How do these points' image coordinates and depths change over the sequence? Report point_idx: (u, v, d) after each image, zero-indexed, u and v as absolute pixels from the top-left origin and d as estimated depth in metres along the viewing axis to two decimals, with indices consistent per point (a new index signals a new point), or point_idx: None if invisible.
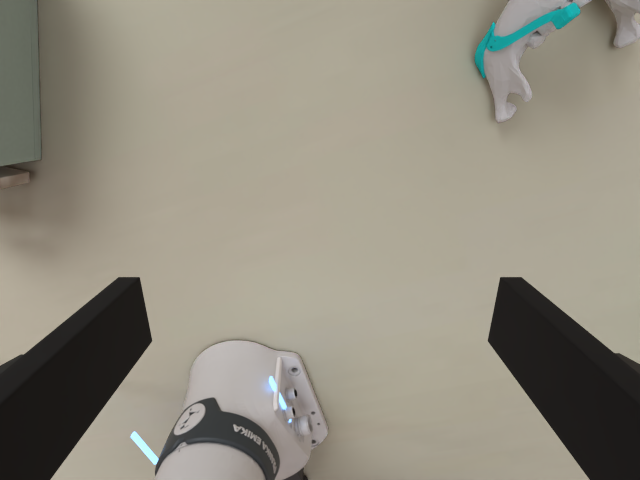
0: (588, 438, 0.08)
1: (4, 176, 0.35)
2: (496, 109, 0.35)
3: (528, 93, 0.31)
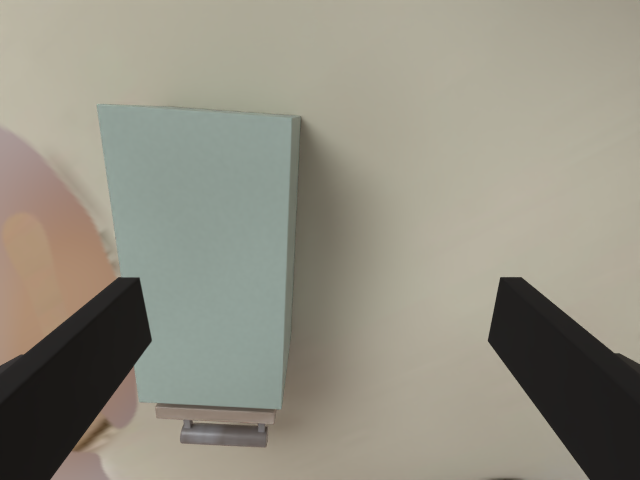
0: (588, 438, 0.08)
1: None
2: None
3: None
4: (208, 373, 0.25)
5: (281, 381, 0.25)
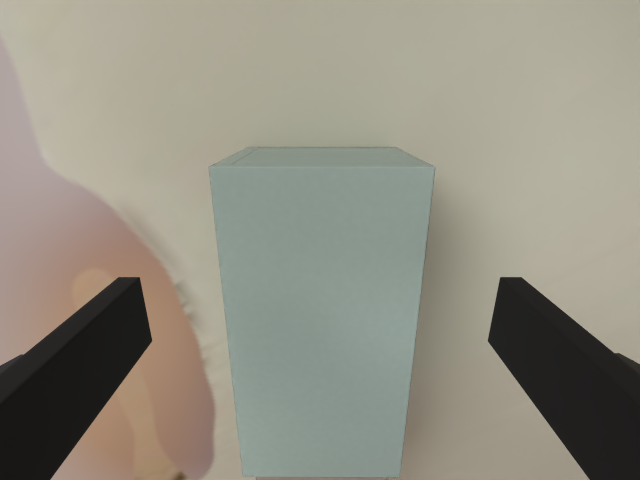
0: (588, 438, 0.08)
1: None
2: None
3: None
4: (320, 444, 0.22)
5: (402, 449, 0.22)
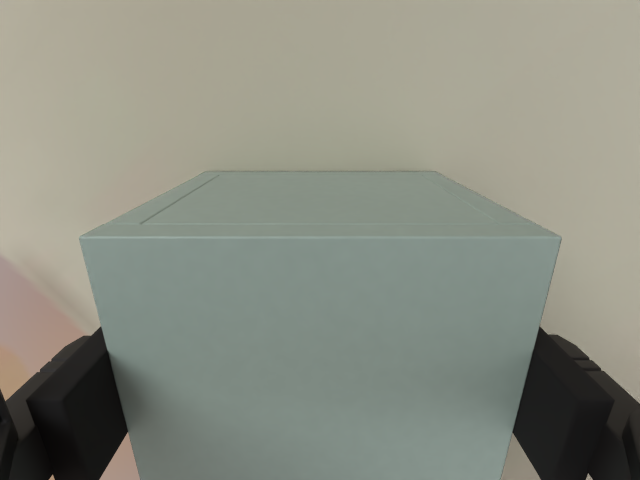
0: (520, 409, 0.09)
1: None
2: None
3: None
4: None
5: None
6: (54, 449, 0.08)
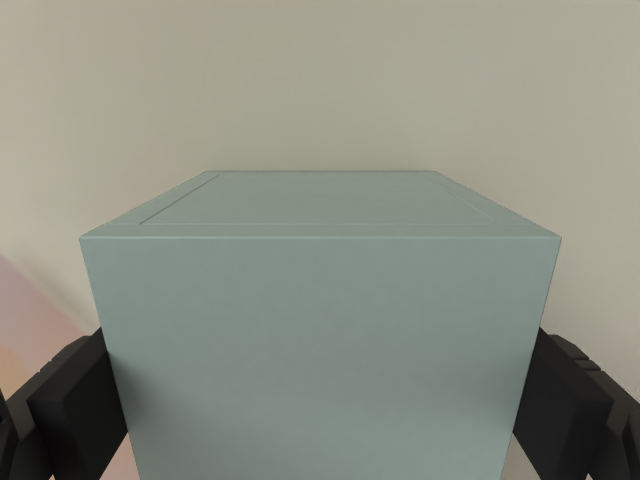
0: (520, 409, 0.09)
1: None
2: None
3: None
4: None
5: None
6: (54, 449, 0.08)
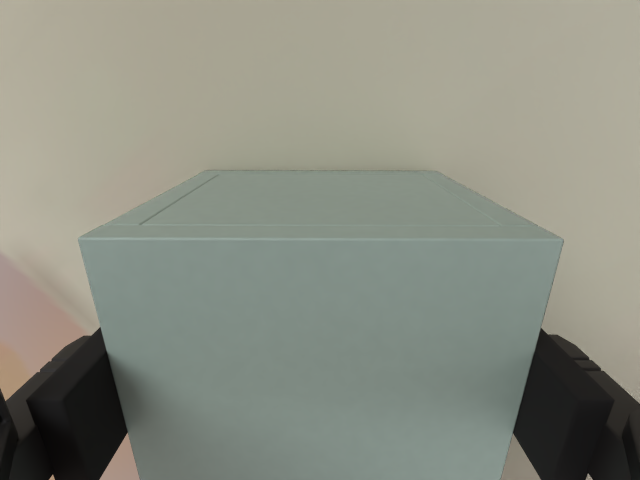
0: (520, 409, 0.09)
1: None
2: None
3: None
4: None
5: None
6: (54, 449, 0.08)
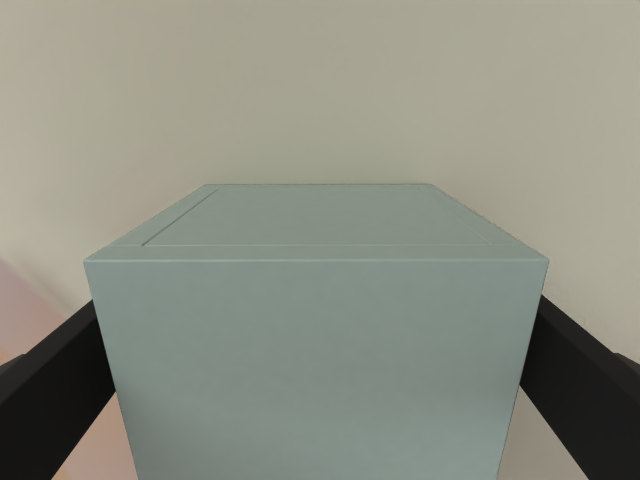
0: (587, 437, 0.08)
1: None
2: None
3: None
4: None
5: None
6: None
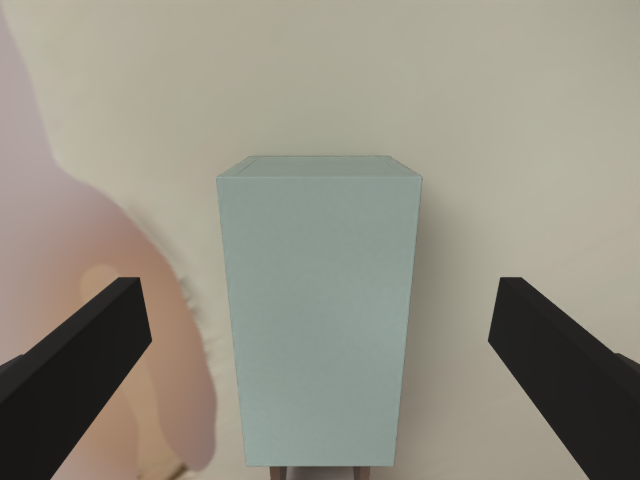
0: (588, 438, 0.08)
1: None
2: None
3: None
4: (319, 434, 0.24)
5: (395, 438, 0.24)
6: None
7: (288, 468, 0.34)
